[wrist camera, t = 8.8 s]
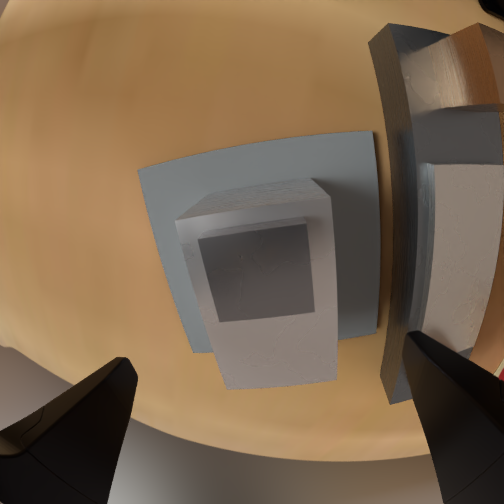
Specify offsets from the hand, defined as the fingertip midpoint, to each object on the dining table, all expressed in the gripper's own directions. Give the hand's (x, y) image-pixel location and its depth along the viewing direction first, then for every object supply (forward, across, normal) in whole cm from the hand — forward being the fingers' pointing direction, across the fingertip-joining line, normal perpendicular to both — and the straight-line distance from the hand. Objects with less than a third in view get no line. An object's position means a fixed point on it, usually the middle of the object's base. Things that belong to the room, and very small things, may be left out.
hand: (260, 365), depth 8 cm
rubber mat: (+8, 0, 0) cm, 8 cm away
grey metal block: (+7, 0, 0) cm, 7 cm away
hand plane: (+8, -10, 0) cm, 13 cm away
